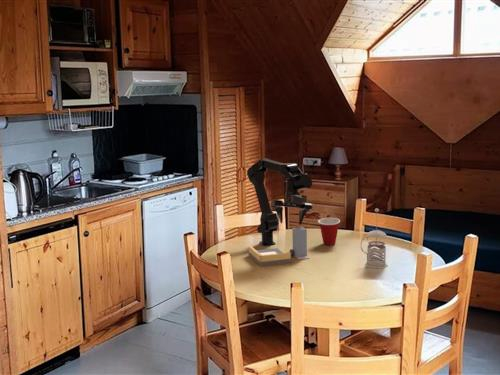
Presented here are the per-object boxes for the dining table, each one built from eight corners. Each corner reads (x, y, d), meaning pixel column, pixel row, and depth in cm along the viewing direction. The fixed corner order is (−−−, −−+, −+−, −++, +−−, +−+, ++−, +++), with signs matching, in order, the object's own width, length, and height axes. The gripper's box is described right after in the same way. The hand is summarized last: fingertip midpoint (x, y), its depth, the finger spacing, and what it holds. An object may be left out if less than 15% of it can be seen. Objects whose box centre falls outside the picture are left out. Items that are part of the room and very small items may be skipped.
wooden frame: (248, 255, 274) (248, 246, 273) (277, 252, 278) (277, 242, 277) (260, 266, 257) (260, 256, 256) (290, 262, 261) (290, 253, 260)
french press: (388, 268, 249) (389, 211, 245) (360, 267, 252) (360, 210, 247) (387, 261, 259) (388, 206, 254) (360, 261, 261) (361, 205, 257)
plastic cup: (314, 245, 288) (314, 221, 286) (322, 240, 297) (322, 216, 295) (335, 247, 283) (335, 223, 281) (343, 242, 292) (343, 218, 290)
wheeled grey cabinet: (289, 255, 273) (289, 227, 271) (304, 253, 275) (304, 226, 273) (296, 260, 265) (295, 231, 263) (311, 258, 267) (311, 230, 265)
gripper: (279, 185, 263) (278, 220, 260) (317, 190, 268) (316, 224, 266) (271, 189, 273) (269, 222, 271) (308, 193, 279) (306, 226, 276)
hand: (290, 224), depth 270 cm, fingers open, 9 cm apart
